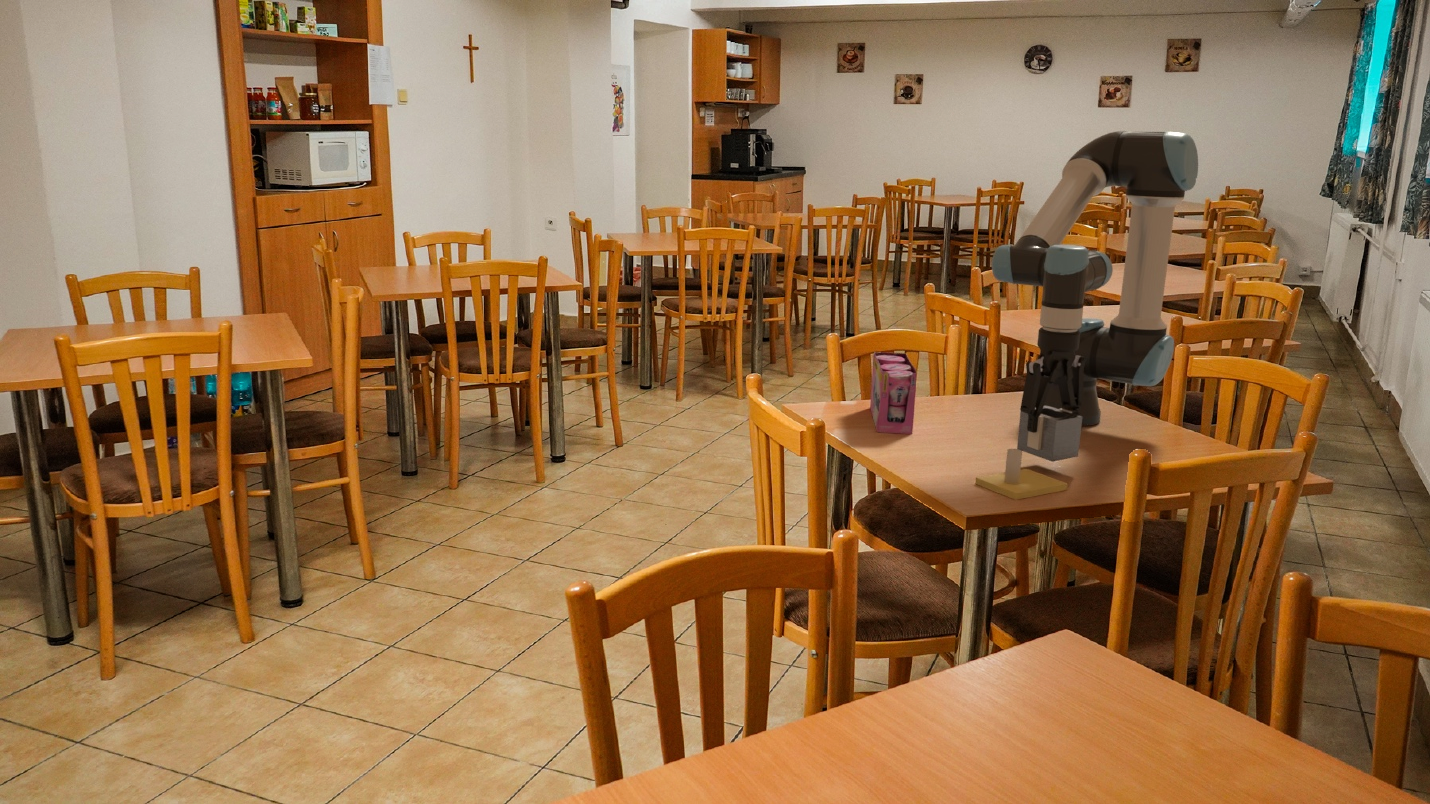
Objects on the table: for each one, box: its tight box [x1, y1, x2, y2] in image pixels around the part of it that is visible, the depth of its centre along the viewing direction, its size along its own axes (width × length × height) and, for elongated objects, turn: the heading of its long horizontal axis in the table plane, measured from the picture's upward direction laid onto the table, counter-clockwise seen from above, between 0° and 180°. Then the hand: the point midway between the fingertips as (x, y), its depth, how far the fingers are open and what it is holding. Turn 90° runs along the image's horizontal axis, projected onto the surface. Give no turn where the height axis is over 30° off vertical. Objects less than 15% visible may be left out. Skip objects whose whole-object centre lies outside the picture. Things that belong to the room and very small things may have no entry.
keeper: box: [974, 448, 1068, 501], centre depth 193 cm, size 13×10×7 cm
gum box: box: [869, 351, 918, 435], centre depth 236 cm, size 24×8×14 cm, turn 176°
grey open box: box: [1016, 405, 1083, 463], centre depth 204 cm, size 9×7×8 cm
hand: (1048, 444), depth 204 cm, fingers closed on grey open box, 7 cm apart
